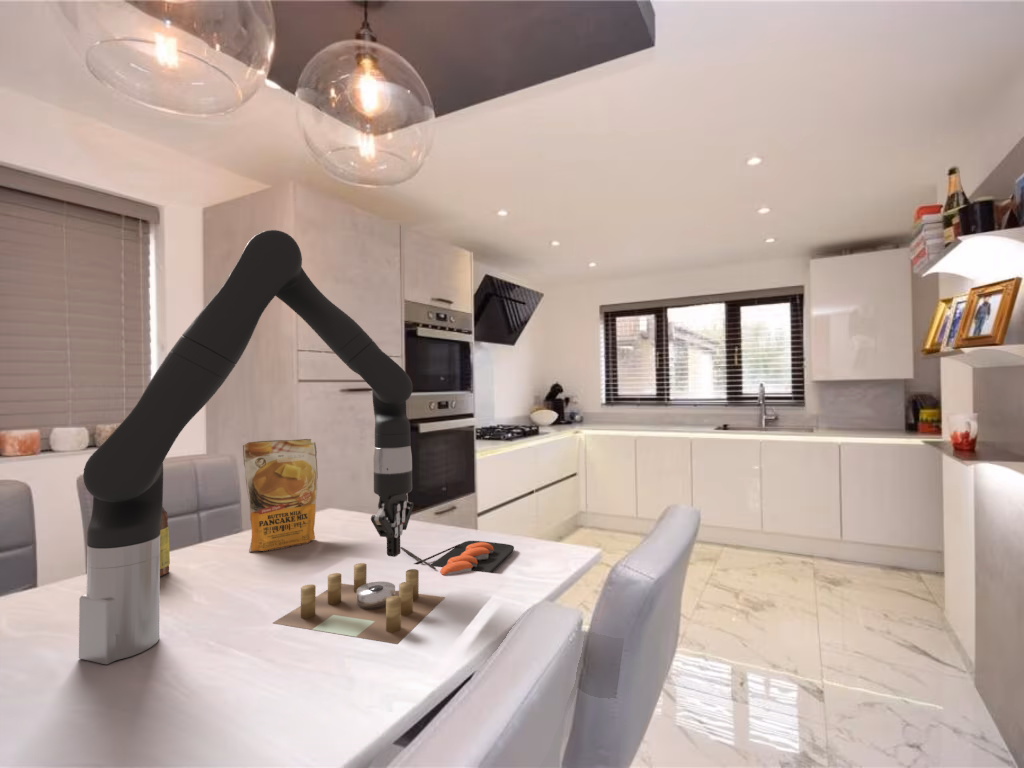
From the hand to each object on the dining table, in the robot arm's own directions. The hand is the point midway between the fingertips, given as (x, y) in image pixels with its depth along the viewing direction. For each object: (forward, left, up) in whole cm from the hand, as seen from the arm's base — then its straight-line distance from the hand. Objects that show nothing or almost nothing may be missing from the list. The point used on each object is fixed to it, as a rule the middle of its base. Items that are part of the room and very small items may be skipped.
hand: (393, 555), depth 98 cm
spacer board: (-10, 0, -8) cm, 13 cm away
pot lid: (-6, 0, -7) cm, 9 cm away
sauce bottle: (-6, +57, -8) cm, 58 cm away
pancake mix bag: (+20, +45, -9) cm, 50 cm away
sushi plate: (+20, 0, -9) cm, 22 cm away
